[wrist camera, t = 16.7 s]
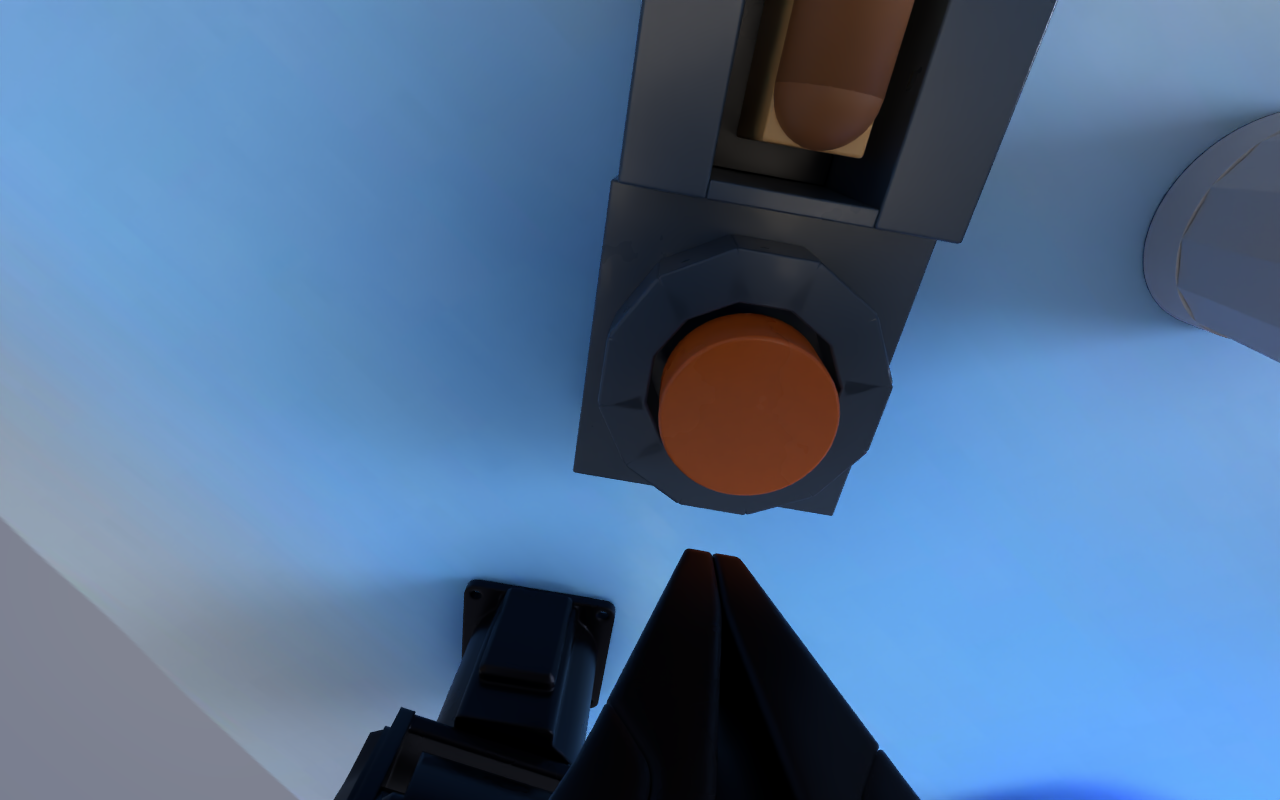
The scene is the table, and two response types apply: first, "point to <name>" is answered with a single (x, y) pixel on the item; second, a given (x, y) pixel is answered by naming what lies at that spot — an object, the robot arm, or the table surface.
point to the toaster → (821, 182)
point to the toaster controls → (729, 284)
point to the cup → (1223, 240)
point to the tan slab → (822, 72)
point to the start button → (746, 405)
